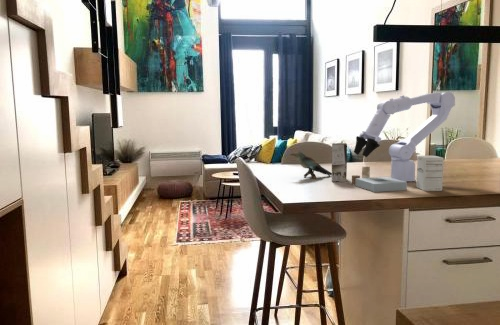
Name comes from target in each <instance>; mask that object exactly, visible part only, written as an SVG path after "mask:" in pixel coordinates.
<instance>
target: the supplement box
mask: <svg viewBox="0 0 500 325" xmlns="http://www.w3.org/2000/svg"><path fill="white" fill-rule="evenodd" d="M416 157H417V162H416V186H415V188H418V189H419V190H421V191H425V192H438V191H439V192H440V191H441V192H442V191H443V184H444V183H443V181H444V164H445V163H444V160H445V158H444V157H442V156H437V155H417V156H416Z"/></svg>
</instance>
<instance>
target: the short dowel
mask: <svg viewBox="0 0 500 325" xmlns="http://www.w3.org/2000/svg"><path fill="white" fill-rule="evenodd" d="M356 178H361V175H358V174H356V175H351V185H353V184H355V180H356Z"/></svg>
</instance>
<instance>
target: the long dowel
mask: <svg viewBox="0 0 500 325" xmlns="http://www.w3.org/2000/svg"><path fill="white" fill-rule="evenodd" d="M370 168H371V166H368V165H362V166H361V178H371V177H370V174H371V173H370V171H371V169H370Z"/></svg>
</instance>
